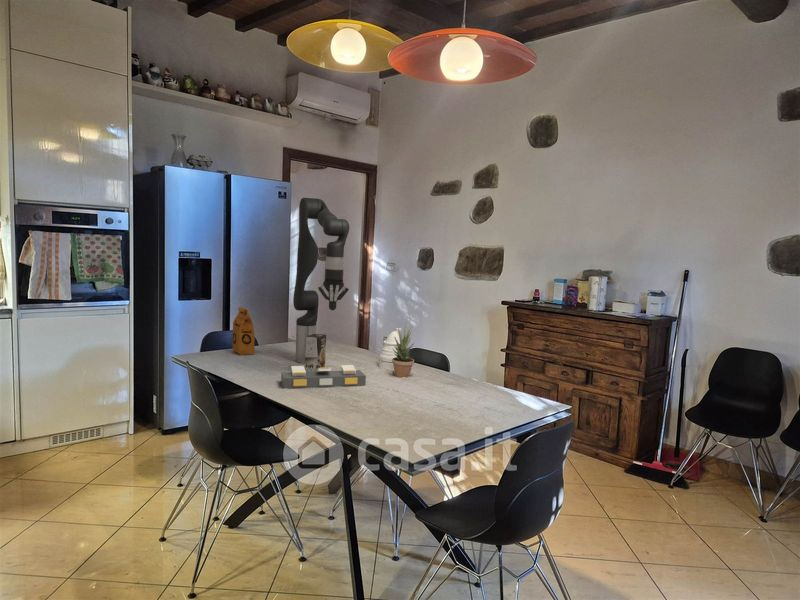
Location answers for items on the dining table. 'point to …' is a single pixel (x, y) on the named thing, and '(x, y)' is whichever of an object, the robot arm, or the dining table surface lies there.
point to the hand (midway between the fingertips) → (332, 310)
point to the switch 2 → (323, 369)
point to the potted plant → (403, 355)
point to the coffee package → (243, 333)
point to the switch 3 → (348, 369)
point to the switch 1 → (298, 371)
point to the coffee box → (315, 352)
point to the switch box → (322, 379)
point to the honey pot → (389, 350)
